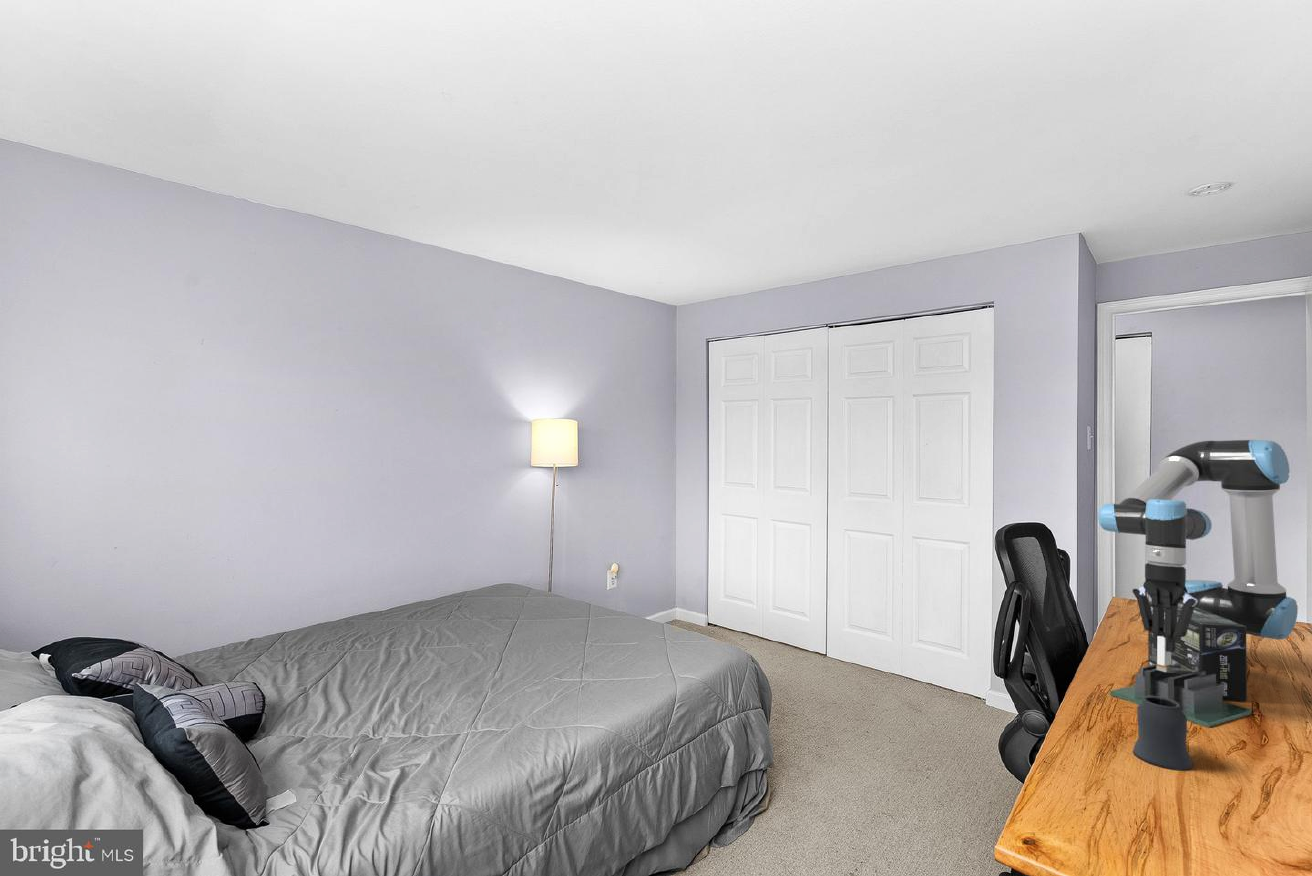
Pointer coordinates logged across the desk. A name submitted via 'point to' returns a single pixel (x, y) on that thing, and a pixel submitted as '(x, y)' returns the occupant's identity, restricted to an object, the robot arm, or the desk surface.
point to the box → (1211, 651)
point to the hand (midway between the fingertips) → (1164, 664)
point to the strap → (1174, 669)
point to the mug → (1162, 734)
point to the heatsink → (1184, 694)
